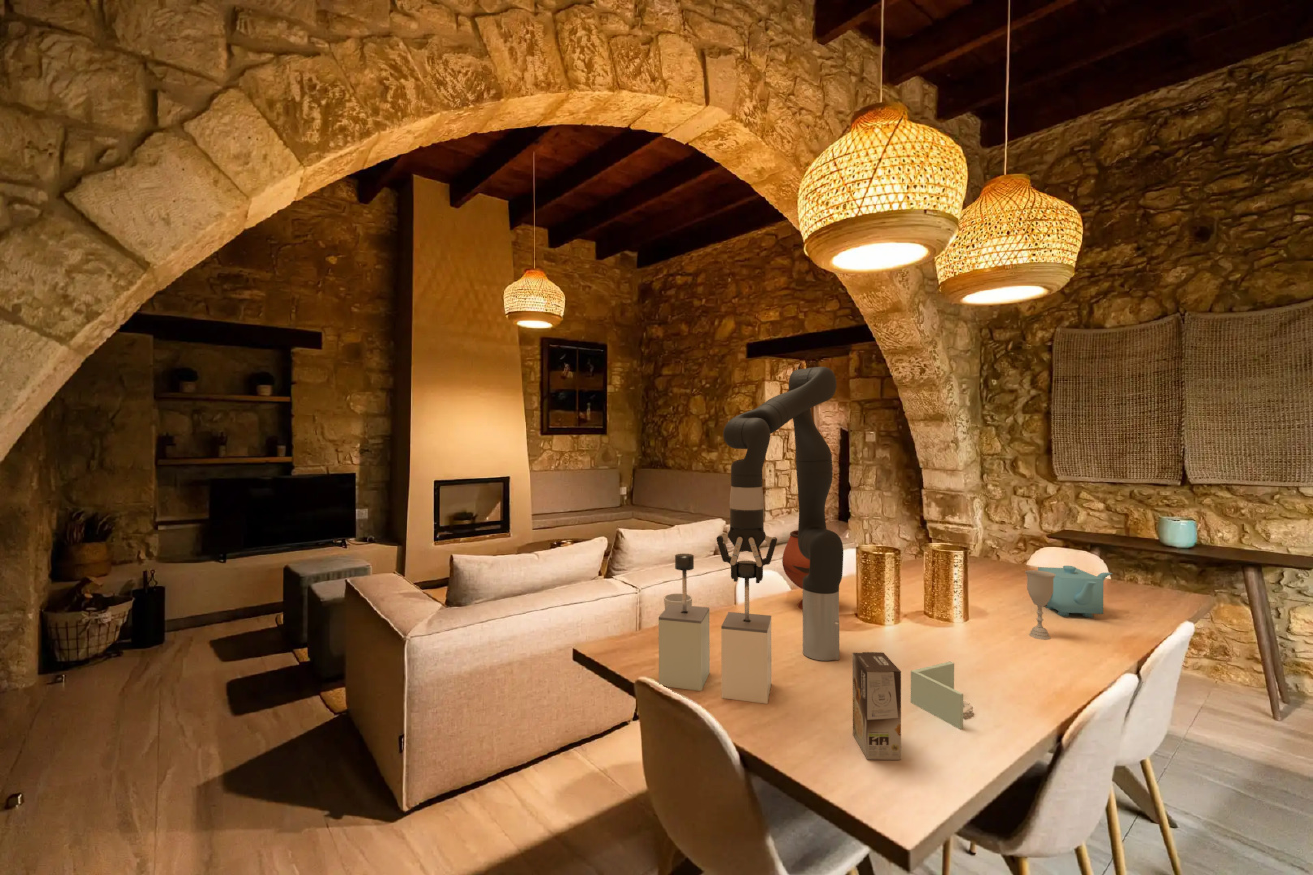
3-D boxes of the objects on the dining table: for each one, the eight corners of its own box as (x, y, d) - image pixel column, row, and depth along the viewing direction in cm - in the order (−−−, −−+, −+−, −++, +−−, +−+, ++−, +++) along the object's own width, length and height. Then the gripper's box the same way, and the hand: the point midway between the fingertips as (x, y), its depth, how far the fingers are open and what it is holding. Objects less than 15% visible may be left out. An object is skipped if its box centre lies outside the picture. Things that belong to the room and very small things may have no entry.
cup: (681, 647, 155) (681, 603, 155) (658, 640, 160) (658, 598, 159) (697, 638, 161) (697, 596, 161) (674, 632, 166) (674, 591, 166)
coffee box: (902, 760, 102) (903, 671, 102) (866, 760, 102) (866, 671, 102) (883, 733, 111) (884, 651, 111) (850, 732, 111) (850, 651, 111)
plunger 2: (766, 642, 132) (766, 559, 131) (763, 656, 124) (762, 568, 124) (732, 639, 134) (731, 557, 134) (726, 652, 126) (726, 565, 126)
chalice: (1027, 638, 160) (1027, 574, 160) (1022, 630, 166) (1022, 569, 166) (1058, 642, 157) (1058, 577, 157) (1051, 633, 163) (1052, 571, 163)
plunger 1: (704, 632, 138) (704, 552, 137) (697, 644, 130) (697, 560, 130) (672, 629, 140) (672, 551, 140) (664, 640, 132) (663, 558, 132)
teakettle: (1047, 599, 196) (1047, 557, 195) (1115, 613, 181) (1115, 567, 180) (1025, 611, 184) (1025, 565, 184) (1096, 626, 169) (1096, 577, 169)
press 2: (771, 683, 133) (771, 615, 132) (767, 703, 123) (767, 630, 123) (728, 678, 135) (728, 611, 135) (721, 697, 126) (721, 625, 125)
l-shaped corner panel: (959, 732, 112) (960, 694, 112) (910, 704, 123) (910, 670, 123) (1000, 719, 117) (1001, 683, 117) (949, 694, 128) (950, 661, 128)
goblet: (845, 602, 193) (845, 529, 193) (838, 620, 176) (838, 540, 175) (788, 596, 201) (788, 525, 200) (776, 612, 183) (776, 535, 183)
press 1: (709, 672, 139) (709, 607, 138) (701, 690, 129) (700, 620, 129) (669, 667, 141) (669, 604, 141) (658, 685, 132) (658, 617, 132)
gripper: (780, 505, 130) (780, 579, 130) (718, 503, 134) (718, 575, 134) (777, 509, 123) (777, 588, 123) (712, 507, 127) (712, 583, 127)
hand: (746, 581), depth 129 cm, fingers closed on plunger 2, 4 cm apart
